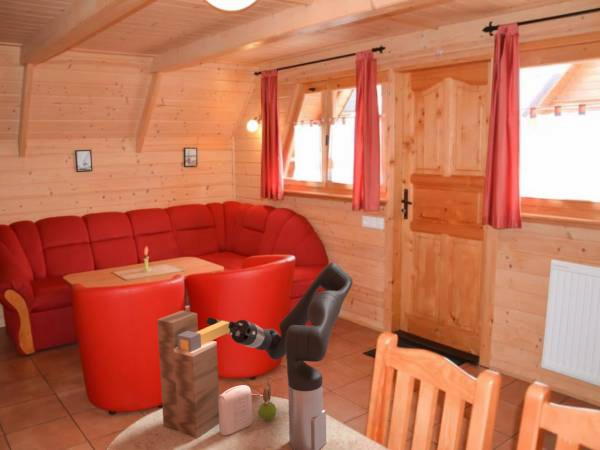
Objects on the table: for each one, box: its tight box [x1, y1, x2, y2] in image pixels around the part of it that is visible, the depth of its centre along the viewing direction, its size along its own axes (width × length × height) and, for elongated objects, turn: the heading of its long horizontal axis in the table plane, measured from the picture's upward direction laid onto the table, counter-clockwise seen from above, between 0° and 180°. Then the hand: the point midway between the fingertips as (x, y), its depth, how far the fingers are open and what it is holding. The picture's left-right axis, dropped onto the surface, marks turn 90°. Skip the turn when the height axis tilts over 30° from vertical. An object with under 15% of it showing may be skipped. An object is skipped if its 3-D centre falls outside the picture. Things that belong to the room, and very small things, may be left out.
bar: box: [177, 320, 230, 352], centre depth 158 cm, size 5×18×4 cm, turn 148°
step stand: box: [156, 309, 220, 439], centre depth 157 cm, size 13×10×32 cm
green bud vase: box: [258, 376, 278, 422], centre depth 161 cm, size 5×6×12 cm
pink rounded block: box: [218, 384, 253, 436], centre depth 156 cm, size 10×4×12 cm, turn 134°
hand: (218, 322), depth 163 cm, fingers open, 8 cm apart
